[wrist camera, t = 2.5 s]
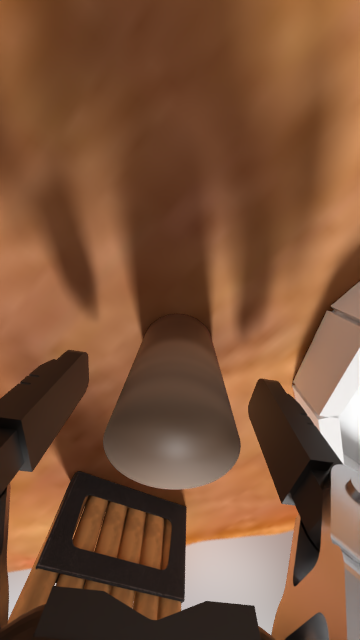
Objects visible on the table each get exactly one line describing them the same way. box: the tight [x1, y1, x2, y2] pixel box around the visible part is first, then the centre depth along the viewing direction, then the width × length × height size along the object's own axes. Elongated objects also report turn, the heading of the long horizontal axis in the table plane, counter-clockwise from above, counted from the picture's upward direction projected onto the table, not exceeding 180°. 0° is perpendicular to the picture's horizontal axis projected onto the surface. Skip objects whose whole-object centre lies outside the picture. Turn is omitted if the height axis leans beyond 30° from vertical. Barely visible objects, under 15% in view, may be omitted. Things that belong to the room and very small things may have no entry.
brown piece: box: [103, 314, 241, 489], centre depth 8 cm, size 4×4×6 cm
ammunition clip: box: [8, 471, 186, 623], centre depth 12 cm, size 11×2×12 cm, turn 61°
